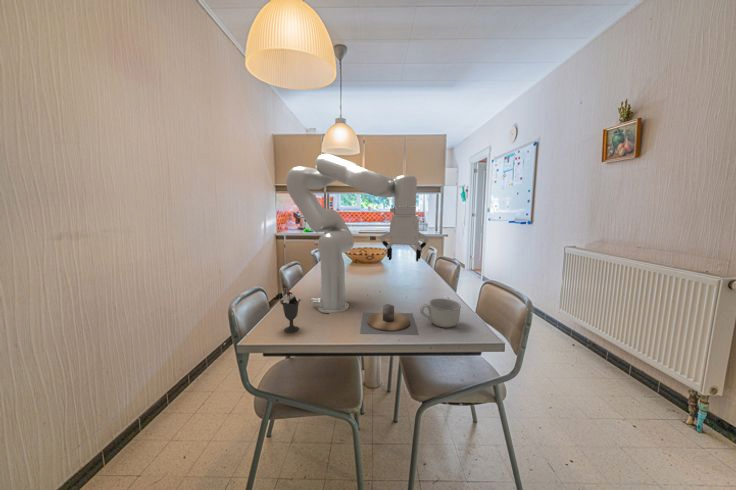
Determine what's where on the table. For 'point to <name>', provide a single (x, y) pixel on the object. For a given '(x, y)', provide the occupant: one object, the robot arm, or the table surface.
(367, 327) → the mat
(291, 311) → the sundae
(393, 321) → the lid
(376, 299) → the table surface
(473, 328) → the table surface
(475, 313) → the table surface
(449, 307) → the teacup
